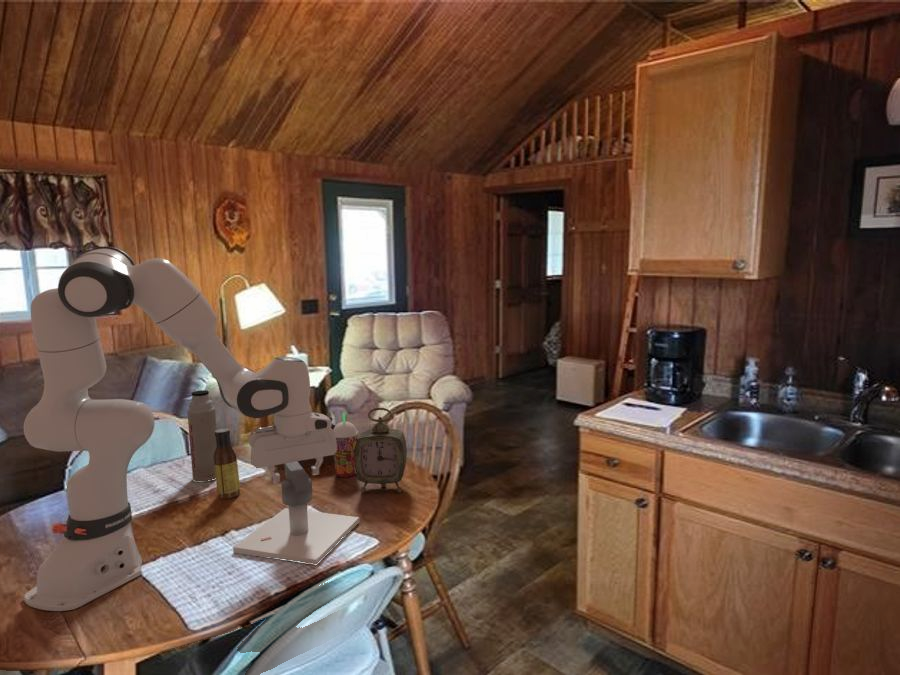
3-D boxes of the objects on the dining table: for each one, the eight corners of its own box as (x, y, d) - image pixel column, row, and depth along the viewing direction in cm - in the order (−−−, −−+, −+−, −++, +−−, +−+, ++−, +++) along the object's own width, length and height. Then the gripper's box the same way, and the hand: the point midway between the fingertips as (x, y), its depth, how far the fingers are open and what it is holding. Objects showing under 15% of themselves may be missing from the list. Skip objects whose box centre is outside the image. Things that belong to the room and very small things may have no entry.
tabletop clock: (355, 495, 168) (352, 411, 164) (361, 483, 177) (358, 403, 173) (405, 495, 167) (402, 411, 164) (408, 483, 176) (406, 403, 173)
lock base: (316, 566, 130) (314, 526, 128) (233, 552, 136) (230, 514, 135) (359, 522, 150) (358, 488, 149) (285, 513, 157) (283, 479, 156)
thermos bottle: (193, 484, 178) (185, 395, 174) (192, 475, 185) (185, 390, 181) (220, 479, 181) (214, 392, 177) (219, 471, 189) (213, 387, 185)
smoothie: (328, 477, 182) (325, 416, 179) (340, 468, 190) (338, 409, 187) (352, 480, 179) (349, 417, 176) (364, 470, 187) (361, 410, 184)
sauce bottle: (244, 491, 172) (239, 426, 169) (234, 500, 166) (229, 433, 163) (223, 490, 173) (218, 426, 170) (212, 499, 166) (207, 433, 164)
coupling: (318, 505, 138) (317, 473, 137) (288, 512, 135) (286, 479, 134) (305, 488, 149) (304, 458, 148) (277, 493, 145) (275, 463, 144)
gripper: (250, 433, 132) (254, 490, 133) (337, 420, 141) (340, 474, 143) (246, 426, 137) (249, 481, 139) (330, 414, 147) (332, 466, 148)
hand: (296, 477), depth 141 cm, fingers open, 8 cm apart
